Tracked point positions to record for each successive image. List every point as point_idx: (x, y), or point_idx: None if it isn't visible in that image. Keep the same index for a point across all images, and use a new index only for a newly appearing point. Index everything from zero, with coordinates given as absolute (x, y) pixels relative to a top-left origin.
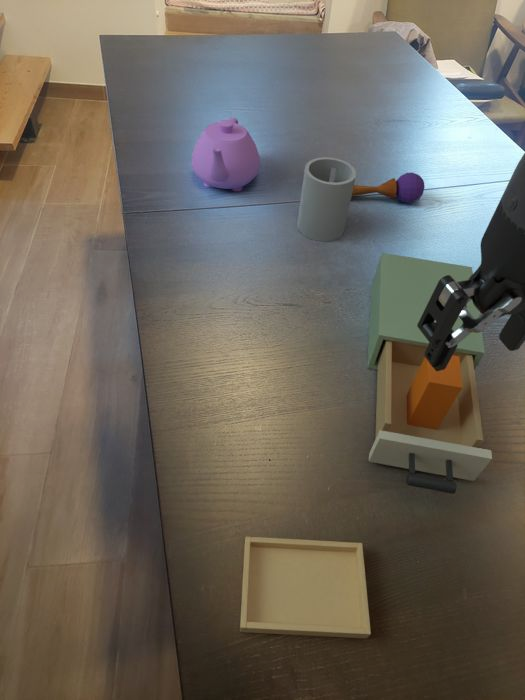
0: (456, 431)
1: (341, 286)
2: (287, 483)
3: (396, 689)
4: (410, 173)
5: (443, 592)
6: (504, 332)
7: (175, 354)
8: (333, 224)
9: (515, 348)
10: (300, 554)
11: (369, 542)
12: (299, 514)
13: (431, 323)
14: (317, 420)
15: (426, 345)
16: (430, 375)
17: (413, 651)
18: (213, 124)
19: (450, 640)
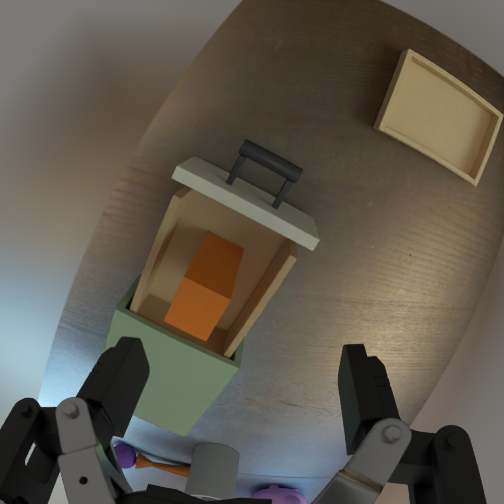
0: (184, 221)
1: (225, 408)
2: (407, 224)
3: (391, 8)
4: (121, 467)
5: (301, 53)
6: (141, 382)
7: (421, 375)
8: (211, 458)
9: (130, 342)
10: (432, 147)
11: (357, 129)
12: (412, 187)
13: (432, 483)
14: (338, 283)
15: (183, 339)
16: (223, 308)
17: (362, 22)
18: None
19: (319, 15)
